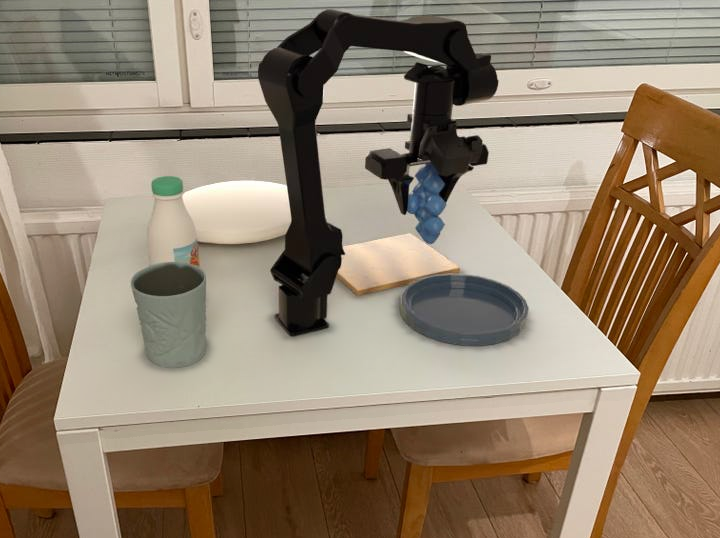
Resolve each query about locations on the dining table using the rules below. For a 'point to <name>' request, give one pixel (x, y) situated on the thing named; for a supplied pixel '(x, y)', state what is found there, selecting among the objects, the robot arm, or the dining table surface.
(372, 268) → the bamboo board
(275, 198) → the plate
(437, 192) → the grapes
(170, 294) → the green plant pot
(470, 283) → the round blue tray
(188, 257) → the milk bottle
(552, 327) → the dining table surface
